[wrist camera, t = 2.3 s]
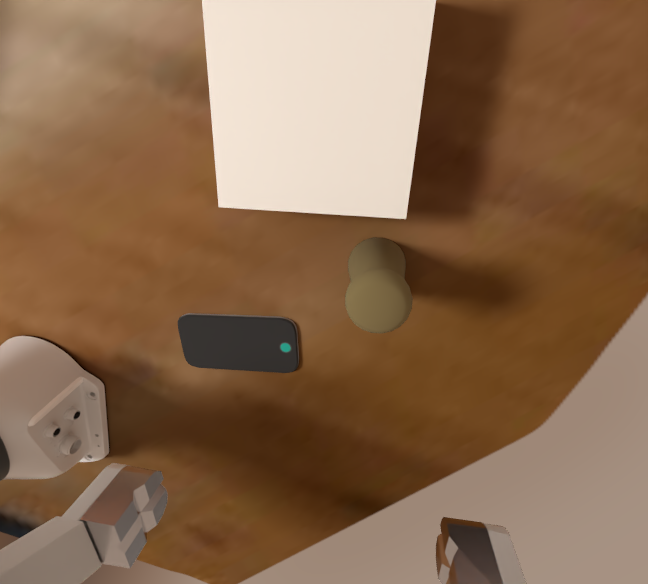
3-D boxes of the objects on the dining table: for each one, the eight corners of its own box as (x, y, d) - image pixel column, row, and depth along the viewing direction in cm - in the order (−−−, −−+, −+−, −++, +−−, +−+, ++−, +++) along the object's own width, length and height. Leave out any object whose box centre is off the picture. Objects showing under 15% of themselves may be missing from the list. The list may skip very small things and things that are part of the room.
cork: (403, 233, 32) (417, 265, 22) (408, 288, 34) (423, 342, 24) (343, 241, 33) (331, 276, 23) (352, 295, 35) (344, 348, 25)
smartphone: (299, 374, 40) (185, 367, 42) (300, 370, 41) (189, 363, 43) (295, 319, 37) (174, 314, 39) (296, 316, 38) (178, 311, 40)
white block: (400, 209, 32) (406, 219, 26) (243, 199, 33) (218, 207, 28) (426, 3, 26) (441, -40, 20) (234, 5, 27) (199, -34, 22)
